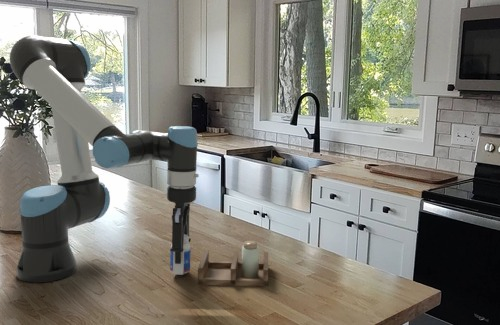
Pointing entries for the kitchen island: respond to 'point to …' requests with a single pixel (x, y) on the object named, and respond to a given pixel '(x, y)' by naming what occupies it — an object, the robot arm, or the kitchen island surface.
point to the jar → (250, 260)
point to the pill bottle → (186, 255)
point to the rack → (229, 272)
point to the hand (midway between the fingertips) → (180, 269)
